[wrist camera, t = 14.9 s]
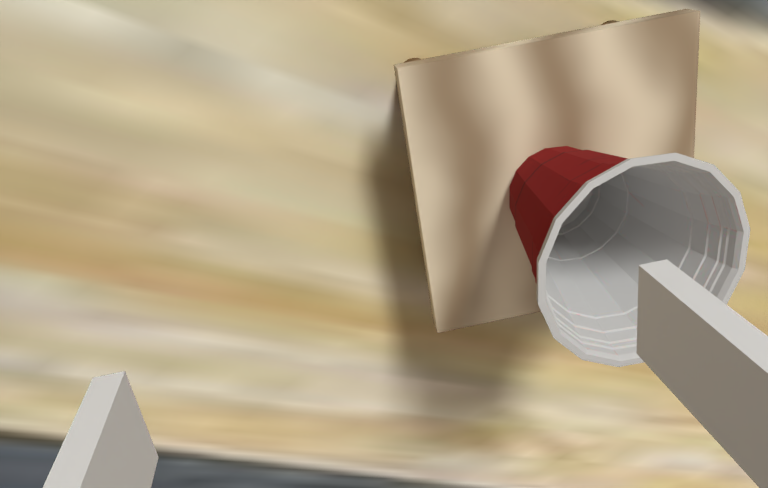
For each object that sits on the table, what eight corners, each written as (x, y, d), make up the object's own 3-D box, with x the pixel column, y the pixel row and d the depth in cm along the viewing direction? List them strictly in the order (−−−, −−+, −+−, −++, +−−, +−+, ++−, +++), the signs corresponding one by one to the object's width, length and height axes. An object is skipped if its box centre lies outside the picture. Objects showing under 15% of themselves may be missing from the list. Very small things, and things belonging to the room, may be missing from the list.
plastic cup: (665, 195, 41) (795, 278, 31) (529, 294, 43) (608, 405, 32) (583, 63, 37) (701, 105, 26) (437, 177, 39) (491, 261, 28)
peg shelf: (418, 283, 50) (437, 333, 44) (381, 51, 43) (397, 68, 36) (636, 238, 51) (688, 280, 44) (637, 3, 44) (700, 10, 37)
